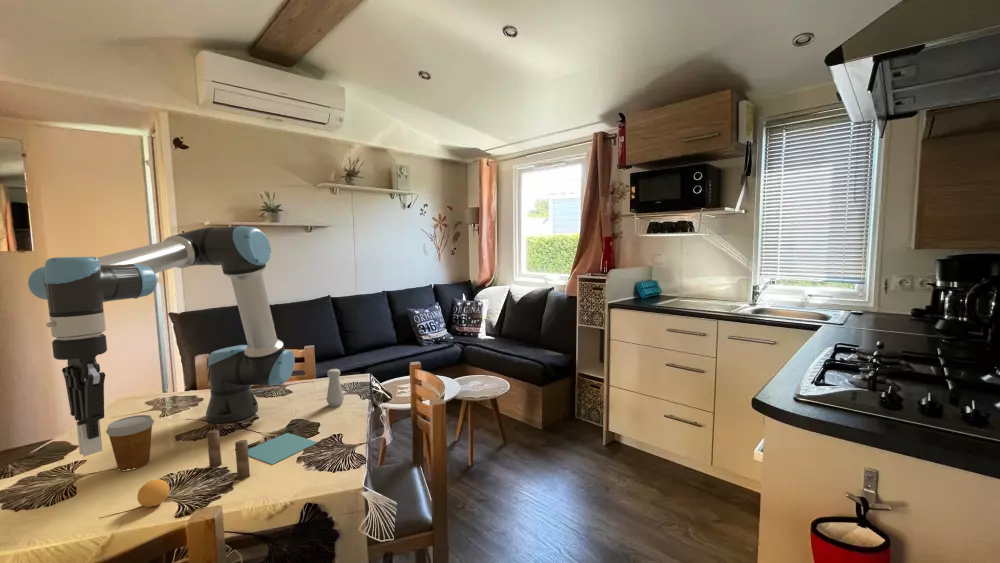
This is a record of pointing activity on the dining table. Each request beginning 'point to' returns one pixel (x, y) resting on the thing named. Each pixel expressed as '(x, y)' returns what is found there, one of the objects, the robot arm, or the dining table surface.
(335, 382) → the salt shaker
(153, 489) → the ball
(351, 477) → the dining table surface
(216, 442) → the inner post
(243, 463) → the outer post
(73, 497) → the dining table surface
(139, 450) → the disposable coffee cup
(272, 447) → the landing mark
